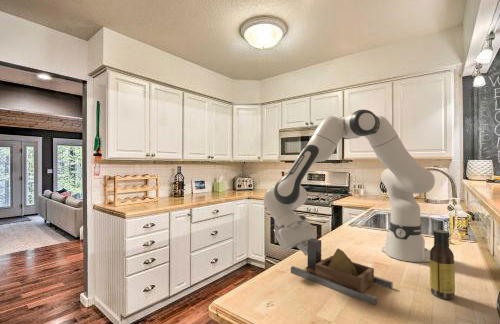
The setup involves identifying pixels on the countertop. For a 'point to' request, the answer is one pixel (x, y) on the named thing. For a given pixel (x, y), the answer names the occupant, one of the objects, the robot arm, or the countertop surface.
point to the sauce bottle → (442, 266)
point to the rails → (343, 288)
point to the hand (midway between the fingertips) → (309, 253)
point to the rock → (342, 263)
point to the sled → (335, 275)
